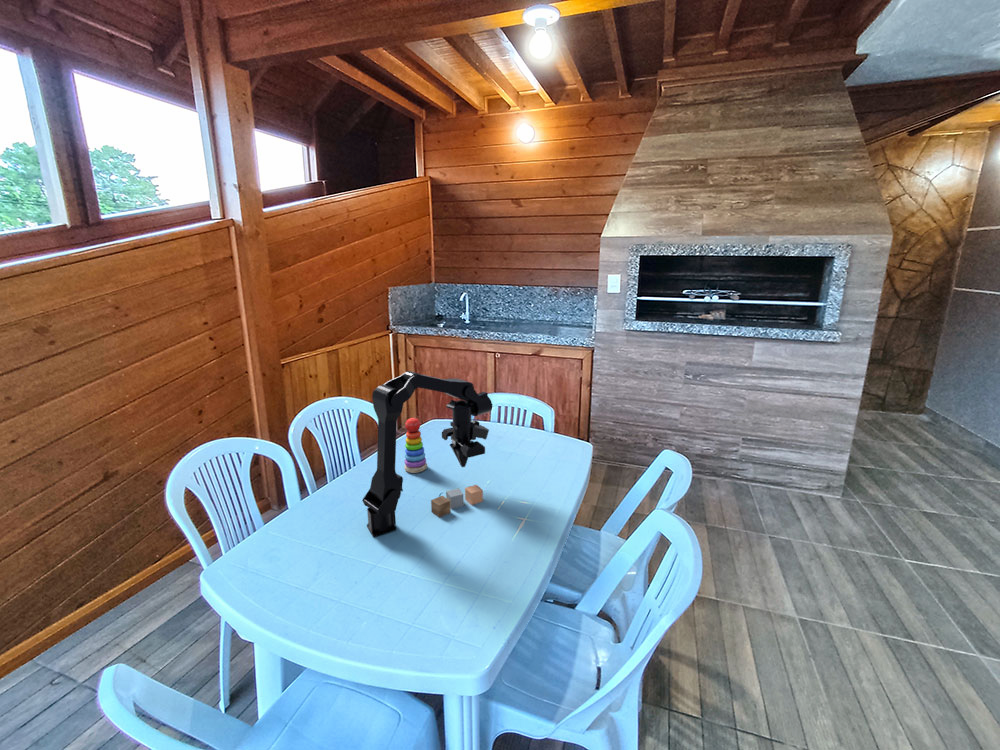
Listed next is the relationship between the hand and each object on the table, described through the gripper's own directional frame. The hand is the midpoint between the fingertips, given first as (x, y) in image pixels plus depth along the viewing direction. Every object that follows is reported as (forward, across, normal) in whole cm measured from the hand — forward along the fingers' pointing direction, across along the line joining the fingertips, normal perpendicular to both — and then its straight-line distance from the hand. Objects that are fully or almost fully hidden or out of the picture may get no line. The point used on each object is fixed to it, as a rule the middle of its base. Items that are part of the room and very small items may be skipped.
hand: (463, 466), depth 149 cm
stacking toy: (+9, +23, +7) cm, 26 cm away
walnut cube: (+9, -8, +12) cm, 16 cm away
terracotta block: (+9, -7, 0) cm, 11 cm away
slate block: (+9, -6, +6) cm, 12 cm away
